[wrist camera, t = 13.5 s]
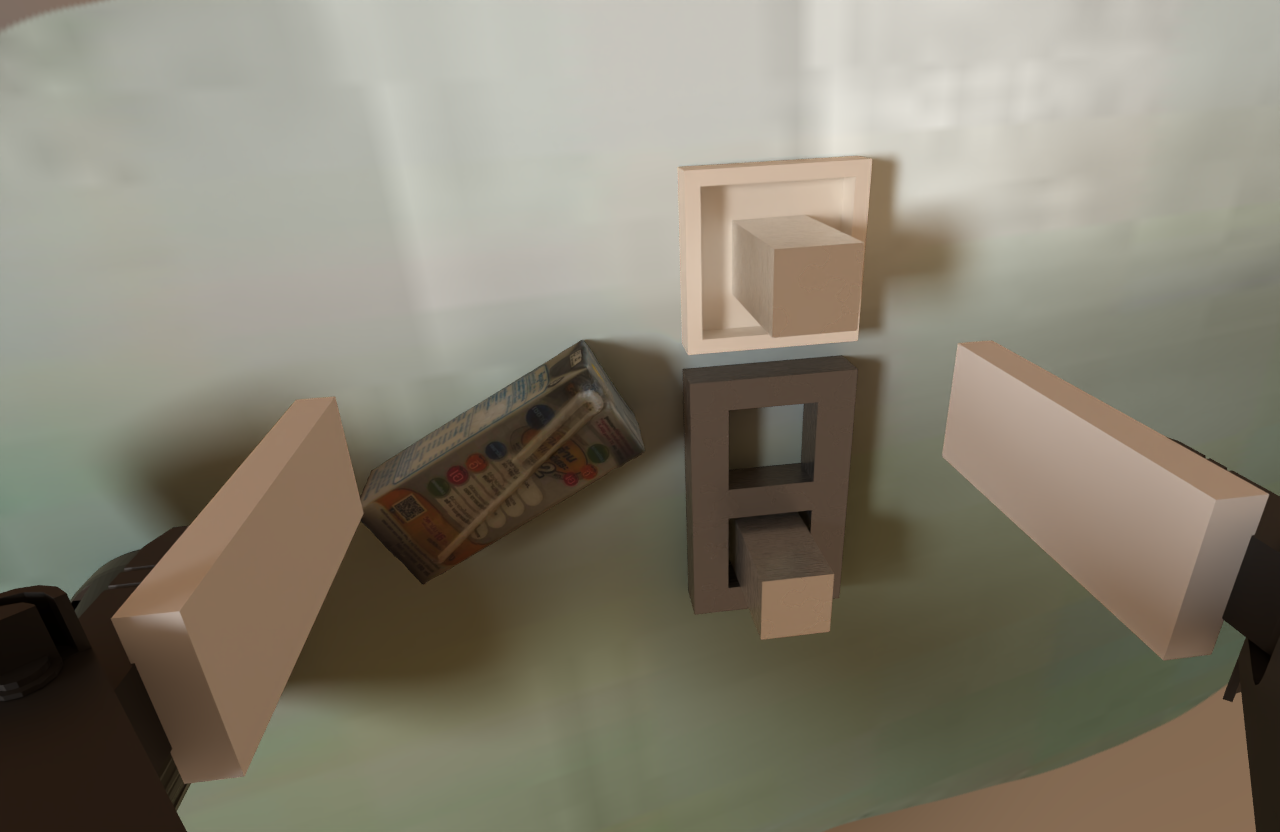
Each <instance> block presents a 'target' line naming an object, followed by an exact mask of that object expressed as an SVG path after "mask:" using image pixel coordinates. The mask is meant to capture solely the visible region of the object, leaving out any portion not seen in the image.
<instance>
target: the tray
mask: <svg viewBox="0 0 1280 832" xmlns="http://www.w3.org/2000/svg"><path fill="white" fill-rule="evenodd" d="M871 170H872V159H870V158H865V157H860V156H845V157H829V158H813V159H797V160H781V161H765V162H749V163H733V164H717V165H701V166H685V167H677V171H678V210H679V249H680V287H681V326H682V344H683V346H684V348H685V350H686V352H687V354H688V355H693V354H705V353H717V352H729V351H741V350H753V349H765V348H777V347H788V346H800V345H812V344H824V343H836V342H848V341H858V332H859V319H860V307H861V295H862V282H863V270H864V257H865V245H866V232H867V220H868V207H869V195H870V183H871ZM798 215H806V216H808V217H811V218H813V219H815V220H817V221H819V222H821V223H823V224H826V225H828V226H830V227H832V228H834V229H836V230H838V231H841V232H843V233H845V234H847V235H849V236H851V237H853V238H856V239H858V240H860V241H862V242H864V252H863V265H862V278H861V291H860V304H859V317H858V330H857V331H847V332H836V333H824V334H812V335H800V336H789V337H777V338H772V337H771V336H770V335H769V334H768V333H767V332H766V331H765V330H764V329H763V327H762V326H761V325H760V324H759V323H758V322H757V321H756V320H755V319H754V318H753V316H752V315H751V314H750V313H749V312H748V311H747V310H746V309H745V308H744V307H743V305H742V304H741V303H740V302H739V301H738V300H737V299H736V298H735V297H734V296H733V295H732V220H742V219H756V218H770V217H784V216H798Z"/></svg>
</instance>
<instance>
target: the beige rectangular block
mask: <svg viewBox="0 0 1280 832" xmlns="http://www.w3.org/2000/svg"><path fill="white" fill-rule="evenodd" d="M729 558H730V561H731V563H732V566H733V569H734V571H735V574H736V576H737V579H738V582H739V584H740V587H741V589H742V592H743V595H744V597H745V600H746V602H747V605H748V608H749V610H750V613H751V615H752V618H753V621H754V623H755V626H756V628H757V631H758V634H759V636H760V639H761V640H763V639H771V638H780V637H788V636H797V635H805V634H814V633H822V632H830V622H831V609H832V596H833V582H834V573H833V571H832V569H831V568H830V566H829V564H828V563H827V561H826V559H825V558H824V556H823V554H822V553H821V551H820V549H819V547H818V546H817V544H816V542H815V541H814V539H813V537H812V536H811V534H810V532H809V531H808V529H807V527H806V525H805V524H804V522H803V520H802V519H801V517H800V515H799V514H798V512H788V513H778V514H769V515H759V516H749V517H740V518H730V519H729Z"/></svg>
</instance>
